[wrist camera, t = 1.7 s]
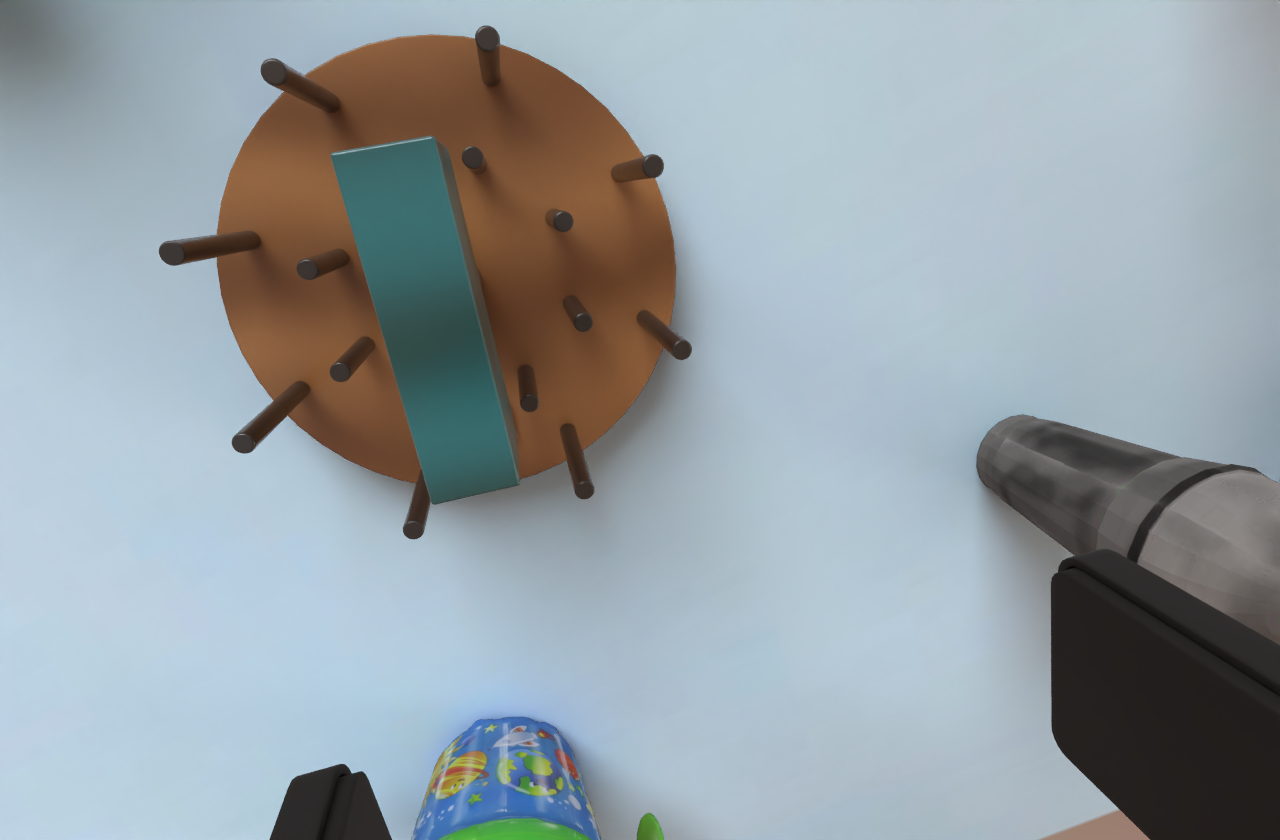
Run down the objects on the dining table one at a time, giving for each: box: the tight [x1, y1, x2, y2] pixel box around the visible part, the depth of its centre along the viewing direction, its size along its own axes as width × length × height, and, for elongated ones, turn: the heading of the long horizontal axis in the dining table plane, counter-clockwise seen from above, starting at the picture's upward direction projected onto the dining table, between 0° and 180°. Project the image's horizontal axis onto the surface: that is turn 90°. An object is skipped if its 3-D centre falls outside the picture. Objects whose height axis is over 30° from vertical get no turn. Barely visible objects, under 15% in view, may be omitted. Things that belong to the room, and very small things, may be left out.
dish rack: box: [159, 26, 692, 539], centre depth 24 cm, size 18×18×13 cm
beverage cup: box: [977, 415, 1280, 645], centre depth 30 cm, size 7×7×20 cm
